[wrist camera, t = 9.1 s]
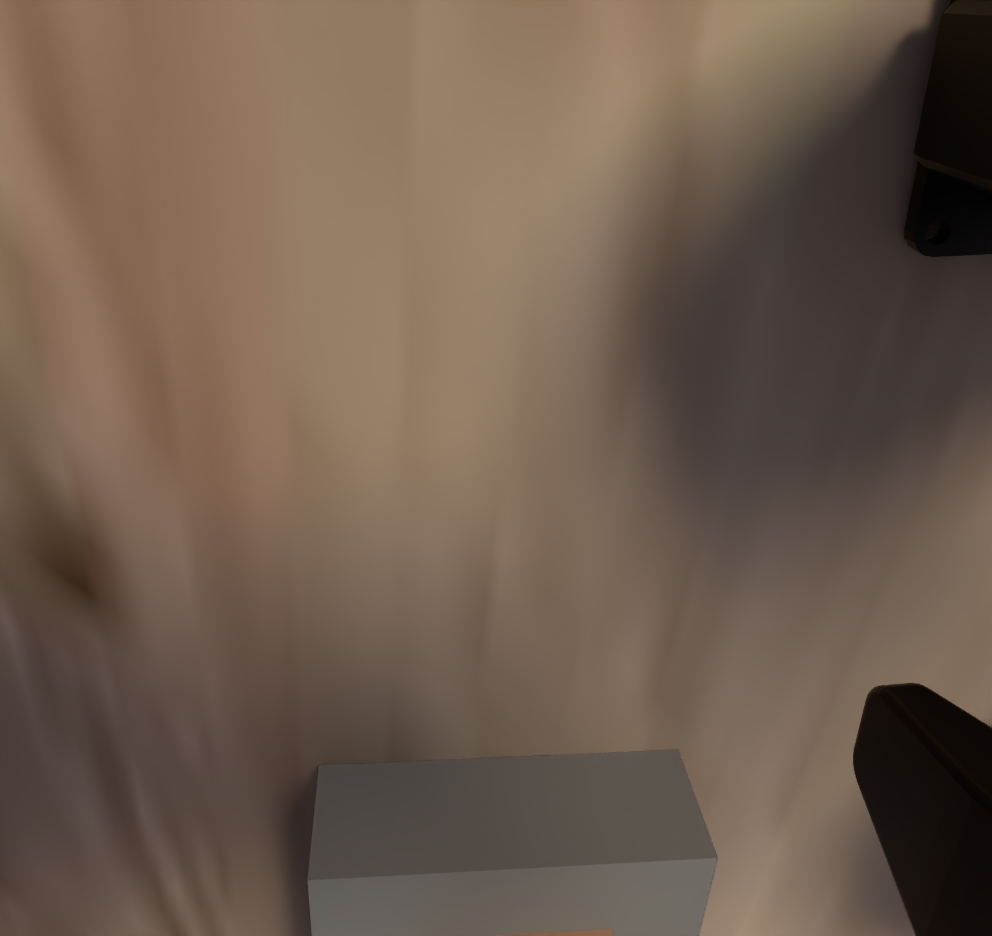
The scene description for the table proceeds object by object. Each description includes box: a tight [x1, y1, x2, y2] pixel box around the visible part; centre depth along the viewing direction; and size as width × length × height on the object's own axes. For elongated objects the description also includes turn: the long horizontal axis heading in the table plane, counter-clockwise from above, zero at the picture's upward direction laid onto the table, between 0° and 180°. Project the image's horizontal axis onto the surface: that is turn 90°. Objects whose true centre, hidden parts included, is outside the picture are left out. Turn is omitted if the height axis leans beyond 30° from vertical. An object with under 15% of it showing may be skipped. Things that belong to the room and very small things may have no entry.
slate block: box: [307, 750, 718, 936], centre depth 26 cm, size 10×10×4 cm
